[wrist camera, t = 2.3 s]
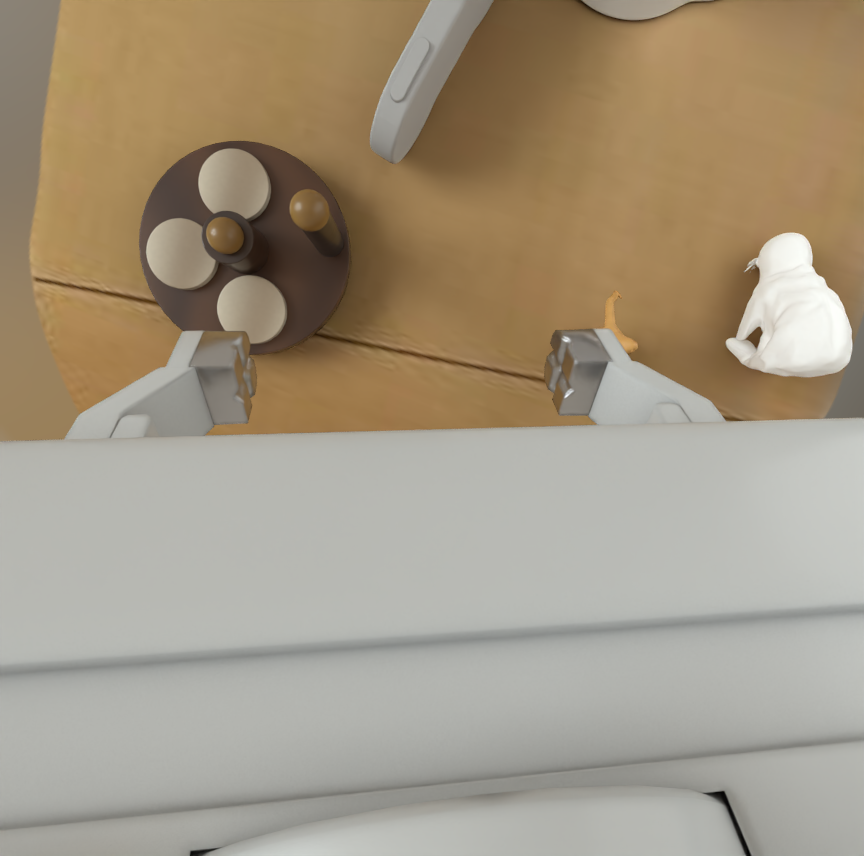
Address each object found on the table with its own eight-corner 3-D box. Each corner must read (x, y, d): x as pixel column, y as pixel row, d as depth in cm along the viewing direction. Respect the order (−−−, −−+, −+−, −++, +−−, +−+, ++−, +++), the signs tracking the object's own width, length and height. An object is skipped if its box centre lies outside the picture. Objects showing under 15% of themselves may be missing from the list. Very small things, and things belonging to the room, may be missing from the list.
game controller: (491, -55, 40) (513, -163, 32) (515, -38, 41) (543, -141, 32) (370, 165, 42) (361, 115, 34) (394, 180, 42) (391, 135, 34)
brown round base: (164, 364, 41) (82, 363, 31) (130, 156, 39) (29, 79, 29) (362, 344, 42) (347, 337, 31) (338, 139, 40) (313, 57, 29)
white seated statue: (793, 374, 37) (796, 207, 37) (720, 381, 45) (722, 246, 45) (876, 375, 37) (880, 209, 37) (788, 382, 46) (791, 248, 45)
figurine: (610, 400, 45) (682, 412, 33) (544, 396, 45) (593, 407, 33) (619, 305, 44) (697, 283, 32) (552, 301, 44) (605, 277, 32)
